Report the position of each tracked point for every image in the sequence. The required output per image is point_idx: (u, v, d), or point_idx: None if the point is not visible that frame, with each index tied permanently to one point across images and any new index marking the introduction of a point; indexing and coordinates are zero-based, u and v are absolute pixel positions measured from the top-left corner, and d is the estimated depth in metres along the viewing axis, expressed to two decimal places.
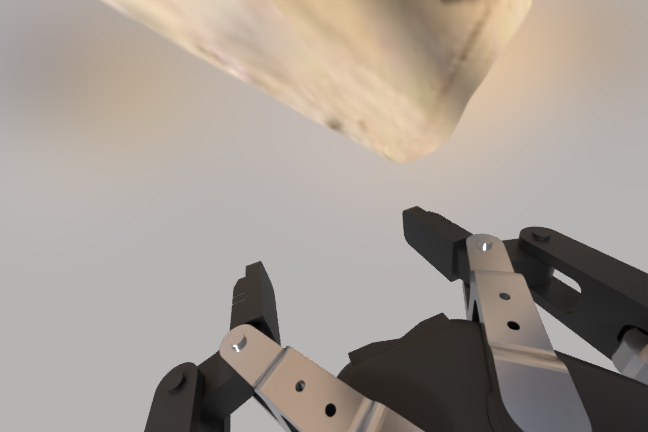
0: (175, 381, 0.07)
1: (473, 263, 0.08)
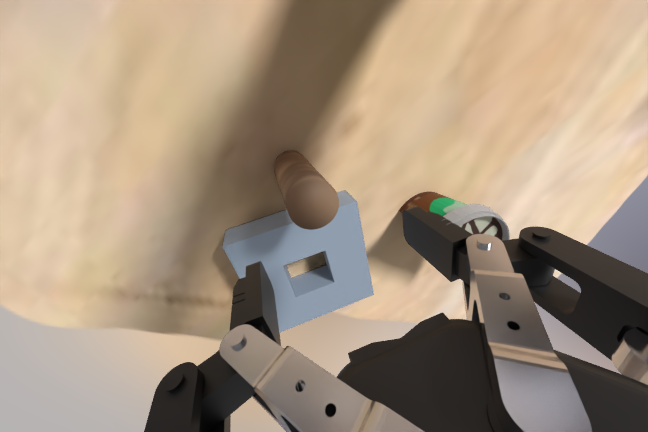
0: (175, 380, 0.07)
1: (473, 263, 0.08)
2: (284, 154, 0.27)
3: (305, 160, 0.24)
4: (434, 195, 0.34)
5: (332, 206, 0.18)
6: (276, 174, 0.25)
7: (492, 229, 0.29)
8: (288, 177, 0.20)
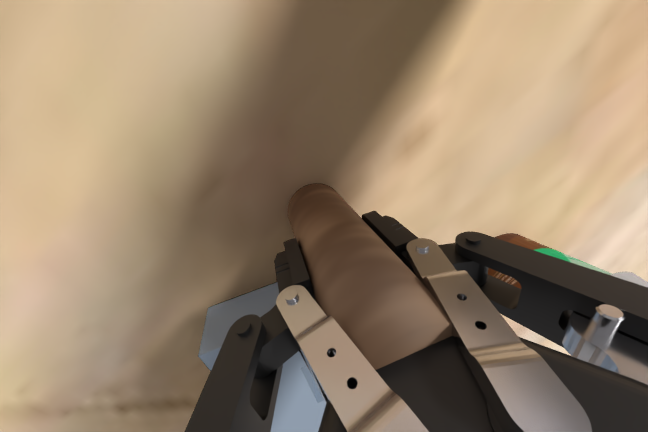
0: (244, 327, 0.08)
1: (421, 269, 0.09)
2: (307, 192, 0.15)
3: (350, 210, 0.13)
4: (523, 242, 0.23)
5: None
6: (295, 231, 0.14)
7: None
8: (333, 272, 0.09)
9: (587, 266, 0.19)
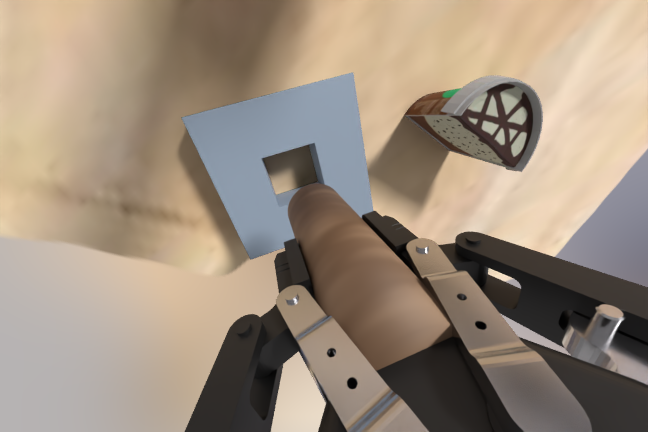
0: (243, 327, 0.08)
1: (421, 269, 0.09)
2: (307, 192, 0.15)
3: (350, 210, 0.13)
4: None
5: None
6: (295, 232, 0.14)
7: (522, 113, 0.23)
8: (333, 272, 0.09)
9: None
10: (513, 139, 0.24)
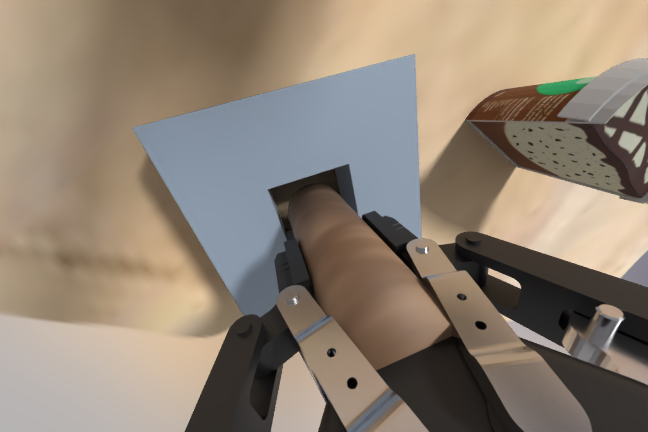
0: (243, 327, 0.08)
1: (421, 269, 0.09)
2: (307, 192, 0.15)
3: (350, 210, 0.13)
4: None
5: None
6: (295, 232, 0.14)
7: None
8: (333, 272, 0.09)
9: None
10: None
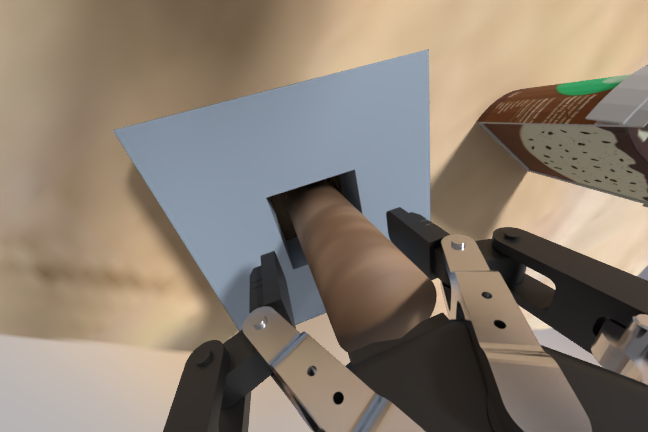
0: (203, 355, 0.07)
1: (451, 264, 0.08)
2: None
3: (341, 195, 0.15)
4: (549, 86, 0.18)
5: (422, 310, 0.09)
6: (292, 216, 0.16)
7: None
8: (324, 241, 0.10)
9: None
10: None
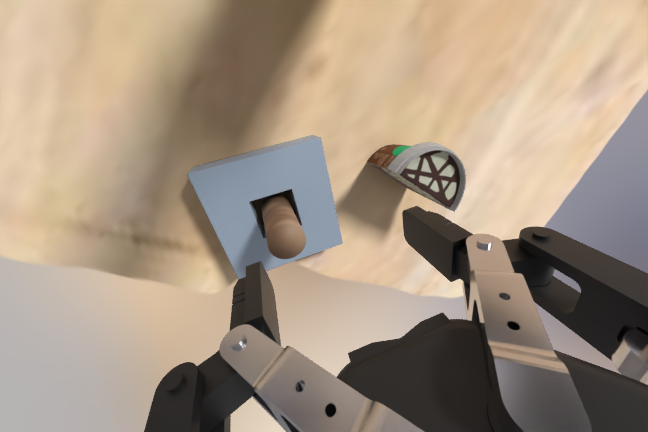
0: (175, 380, 0.07)
1: (473, 263, 0.08)
2: None
3: (284, 201, 0.31)
4: (399, 145, 0.35)
5: (300, 242, 0.25)
6: (262, 211, 0.32)
7: (450, 169, 0.31)
8: (269, 218, 0.27)
9: None
10: (445, 187, 0.32)
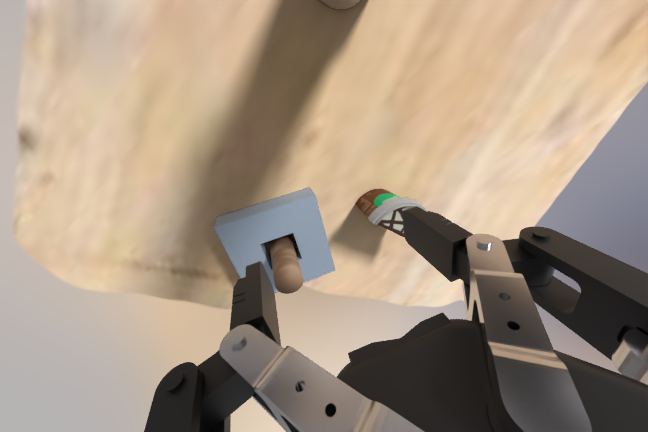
0: (175, 380, 0.07)
1: (473, 263, 0.08)
2: None
3: (287, 242, 0.39)
4: (381, 191, 0.43)
5: (299, 281, 0.34)
6: (270, 249, 0.40)
7: None
8: (276, 261, 0.35)
9: (398, 198, 0.39)
10: None
